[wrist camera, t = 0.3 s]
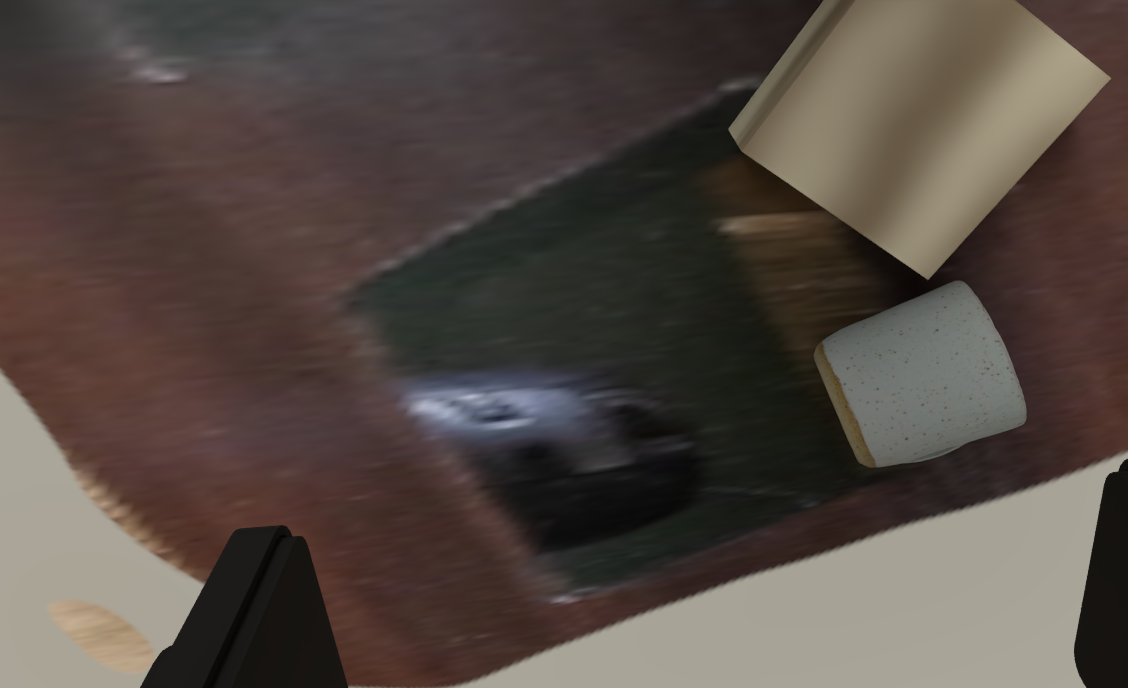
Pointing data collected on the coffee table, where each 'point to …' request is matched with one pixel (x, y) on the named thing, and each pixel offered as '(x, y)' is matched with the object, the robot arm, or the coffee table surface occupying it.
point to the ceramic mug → (921, 378)
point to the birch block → (915, 115)
